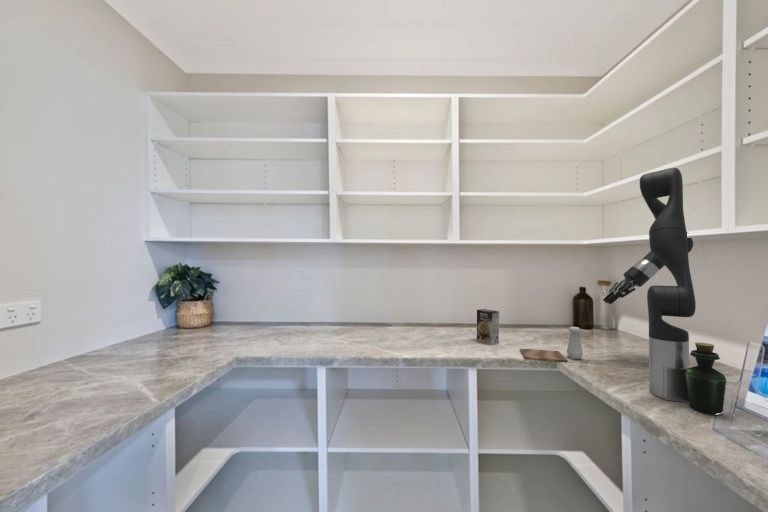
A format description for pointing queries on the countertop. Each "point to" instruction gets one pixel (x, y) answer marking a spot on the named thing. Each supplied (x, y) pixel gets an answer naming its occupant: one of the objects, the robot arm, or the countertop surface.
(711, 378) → the potion bottle
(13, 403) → the countertop surface
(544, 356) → the walnut board
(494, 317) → the coffee box
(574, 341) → the salt shaker
